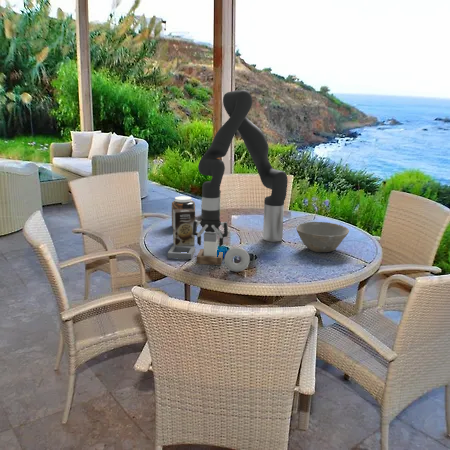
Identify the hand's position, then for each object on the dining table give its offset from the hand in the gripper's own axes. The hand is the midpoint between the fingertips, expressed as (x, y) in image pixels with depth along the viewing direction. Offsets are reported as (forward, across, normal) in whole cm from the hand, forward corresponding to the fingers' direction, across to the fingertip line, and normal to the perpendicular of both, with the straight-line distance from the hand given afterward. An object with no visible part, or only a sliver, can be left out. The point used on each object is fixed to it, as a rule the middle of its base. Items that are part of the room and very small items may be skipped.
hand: (210, 245), depth 206 cm
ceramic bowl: (+6, -47, -22) cm, 53 cm away
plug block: (+6, 0, 0) cm, 7 cm away
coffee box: (+7, +15, -19) cm, 25 cm away
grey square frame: (+6, +13, -4) cm, 15 cm away
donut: (+7, -12, +11) cm, 18 cm away
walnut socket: (+6, 0, 0) cm, 6 cm away
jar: (+6, +21, -48) cm, 53 cm away
